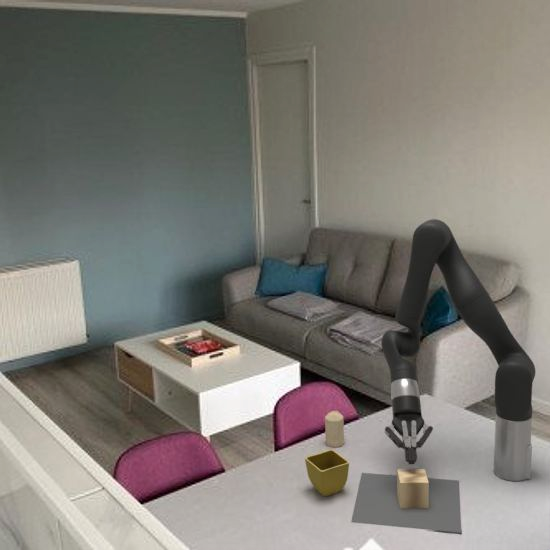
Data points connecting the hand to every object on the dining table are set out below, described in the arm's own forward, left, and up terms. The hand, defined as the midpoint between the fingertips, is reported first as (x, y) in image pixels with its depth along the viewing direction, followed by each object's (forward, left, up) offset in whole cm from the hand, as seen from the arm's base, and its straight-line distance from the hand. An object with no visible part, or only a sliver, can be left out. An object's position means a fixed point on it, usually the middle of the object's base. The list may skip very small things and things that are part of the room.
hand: (411, 463), depth 177 cm
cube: (0, -2, -6) cm, 6 cm away
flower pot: (+22, 0, -10) cm, 24 cm away
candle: (+24, -27, -10) cm, 38 cm away
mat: (+1, +2, -10) cm, 10 cm away
